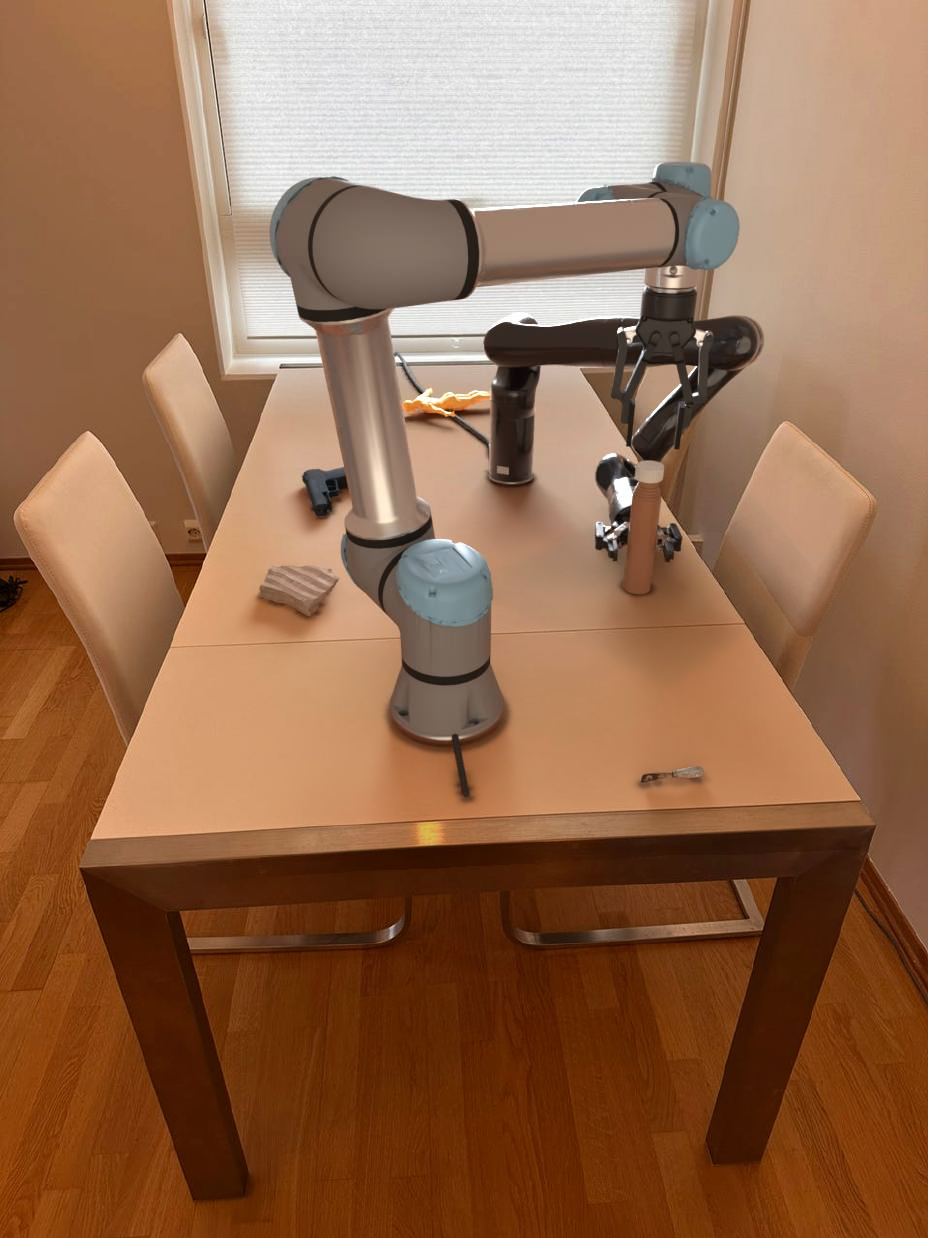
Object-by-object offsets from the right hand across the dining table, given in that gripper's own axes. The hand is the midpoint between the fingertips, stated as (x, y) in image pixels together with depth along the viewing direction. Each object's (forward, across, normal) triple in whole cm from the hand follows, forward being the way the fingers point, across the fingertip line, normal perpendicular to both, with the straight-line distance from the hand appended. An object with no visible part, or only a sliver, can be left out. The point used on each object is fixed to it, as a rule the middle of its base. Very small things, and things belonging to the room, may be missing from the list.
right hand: (642, 557), depth 145 cm
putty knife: (+46, -1, +7) cm, 46 cm away
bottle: (-2, 0, +7) cm, 7 cm away
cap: (-2, 0, -15) cm, 15 cm away
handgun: (-36, -57, +7) cm, 68 cm away
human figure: (-90, -37, +7) cm, 97 cm away
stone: (+4, -56, +7) cm, 57 cm away
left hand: (-2, 0, -19) cm, 19 cm away
